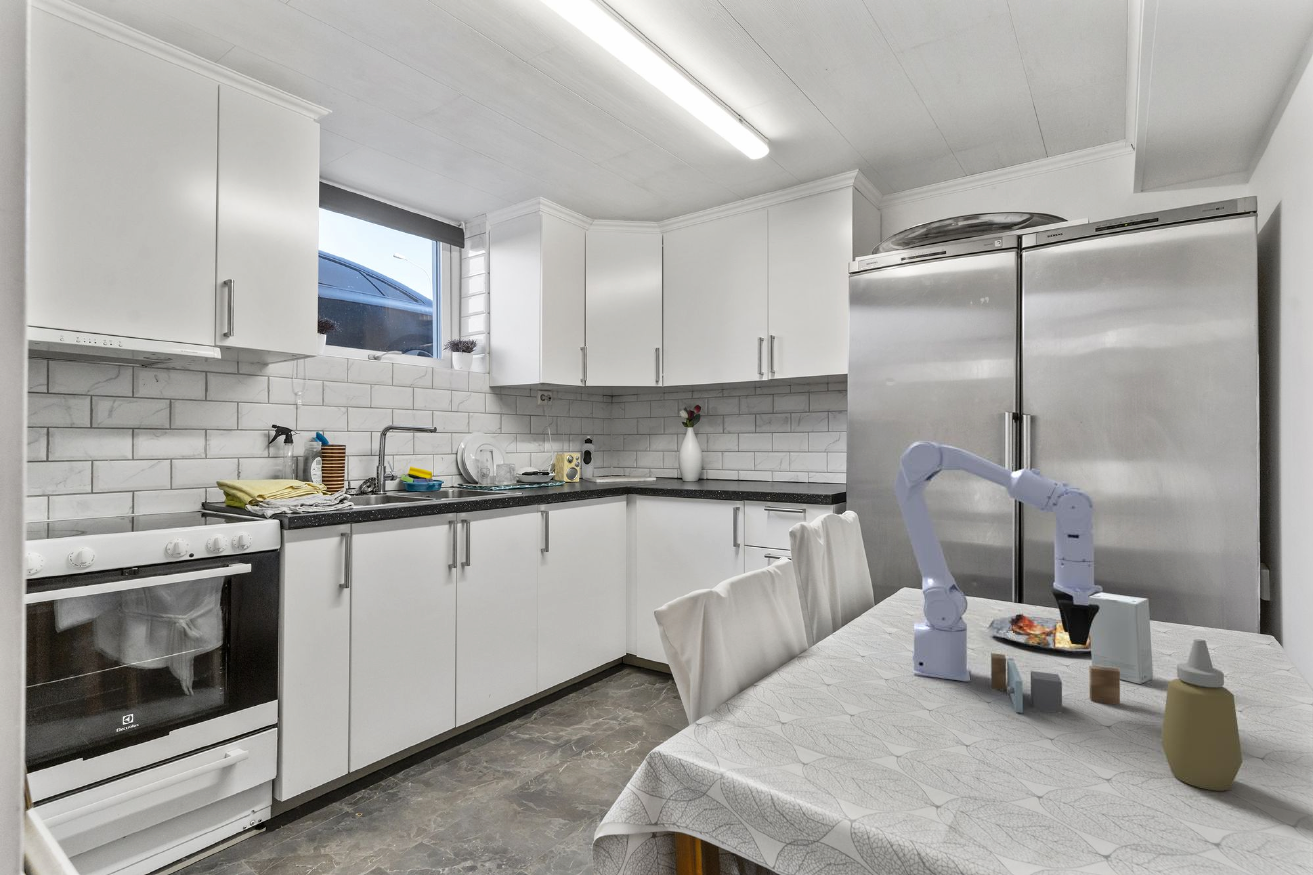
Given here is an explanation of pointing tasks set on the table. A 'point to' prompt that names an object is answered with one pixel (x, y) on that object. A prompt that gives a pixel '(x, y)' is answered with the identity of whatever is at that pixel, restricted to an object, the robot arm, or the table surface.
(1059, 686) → the block
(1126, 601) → the skincare box
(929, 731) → the table surface
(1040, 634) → the food plate
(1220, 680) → the squeeze bottle
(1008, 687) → the door
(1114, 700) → the door frame
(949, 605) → the robot arm
